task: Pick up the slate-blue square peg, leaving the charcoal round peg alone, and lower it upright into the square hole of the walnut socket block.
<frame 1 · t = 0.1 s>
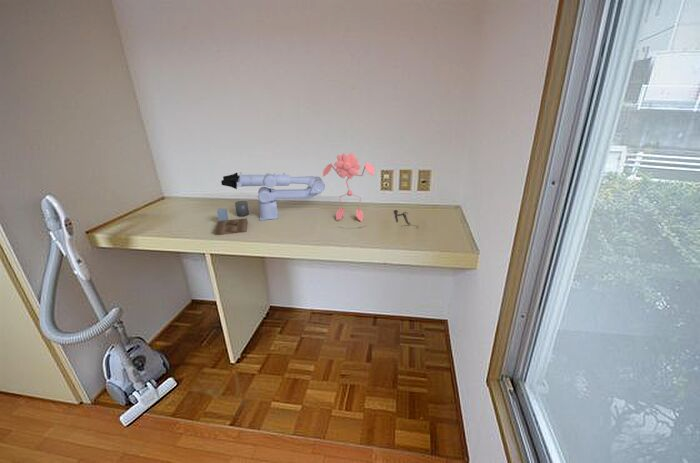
hand: (222, 180, 159), 22 cm above the table, tool horizontal, fingers open, 7 cm apart
figurine: (348, 223, 162), on the table
square peg: (224, 222, 167), on the table
round peg: (243, 214, 176), on the table
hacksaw: (405, 220, 165), on the table
socket block: (232, 228, 159), on the table
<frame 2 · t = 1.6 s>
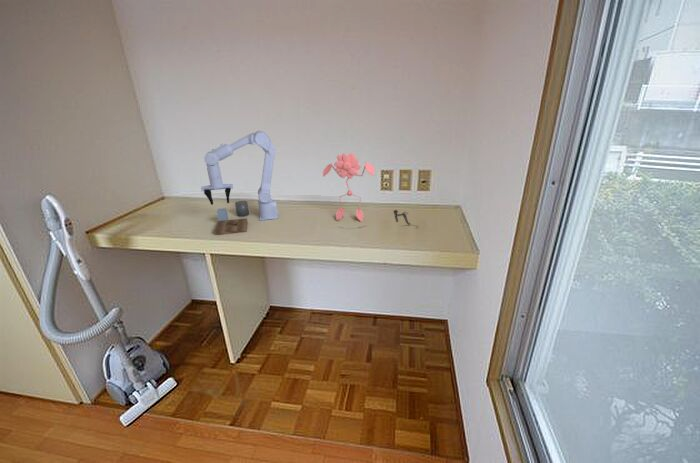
hand: (220, 203, 162), 10 cm above the table, tool pointing down, fingers open, 7 cm apart
nothing on the table moved.
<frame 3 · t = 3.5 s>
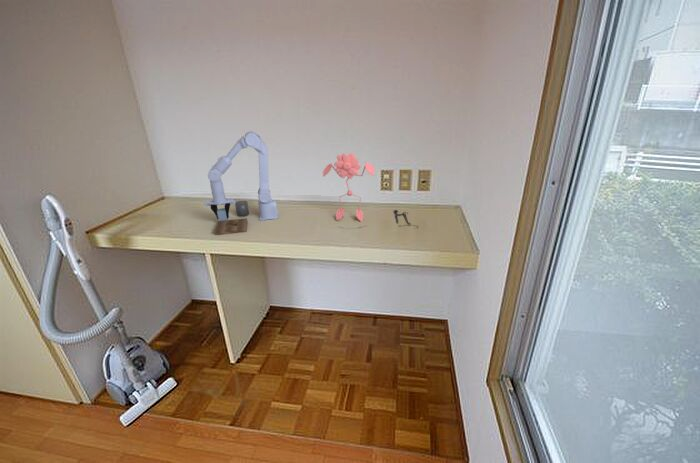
hand: (223, 218, 166), 2 cm above the table, tool pointing down, fingers closed on square peg, 4 cm apart
square peg: (224, 222, 167), on the table, touching gripper
everything else where it was.
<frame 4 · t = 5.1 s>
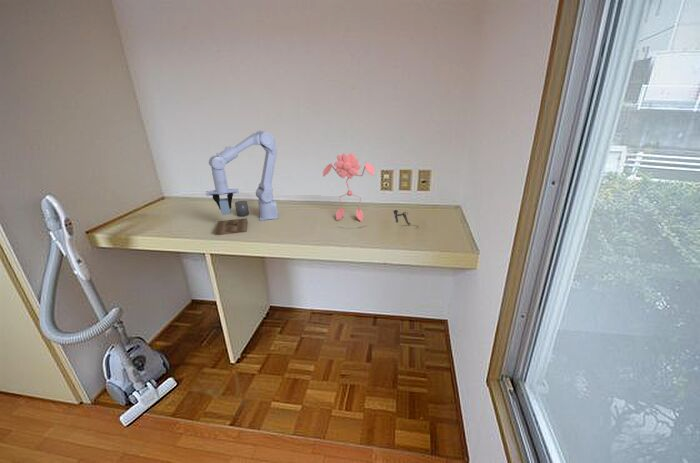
hand: (225, 208, 158), 9 cm above the table, tool pointing down, fingers closed on square peg, 4 cm apart
square peg: (226, 213, 159), point 7 cm above the table, touching gripper
everything else where it was.
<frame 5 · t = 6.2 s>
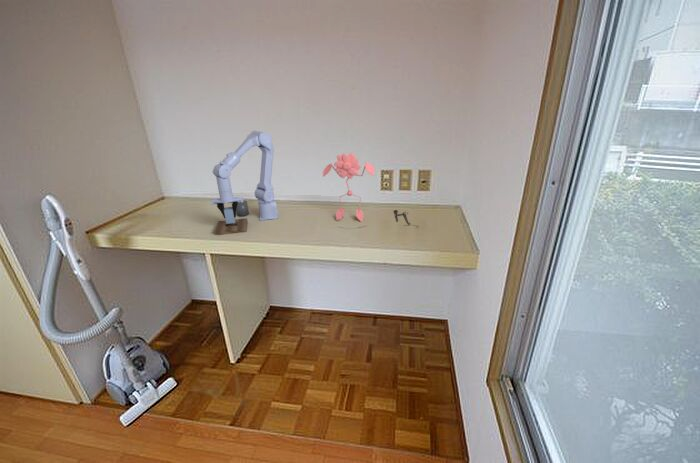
hand: (230, 217, 156), 6 cm above the table, tool pointing down, fingers closed on square peg, 4 cm apart
square peg: (231, 221, 157), point 4 cm above the table, touching gripper
everything else where it was.
when the fingers open (4 cm above the table, at t = 7.1 s): square peg drops 1 cm, resting in socket block.
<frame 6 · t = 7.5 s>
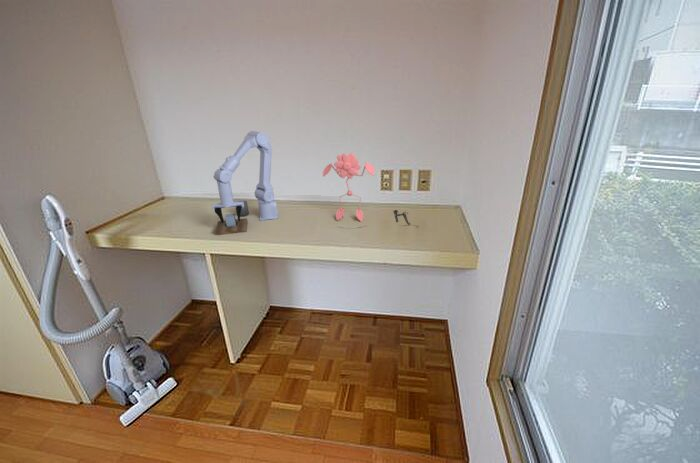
hand: (231, 221, 157), 4 cm above the table, tool pointing down, fingers open, 7 cm apart
square peg: (232, 228, 159), resting in socket block
everything else where it was.
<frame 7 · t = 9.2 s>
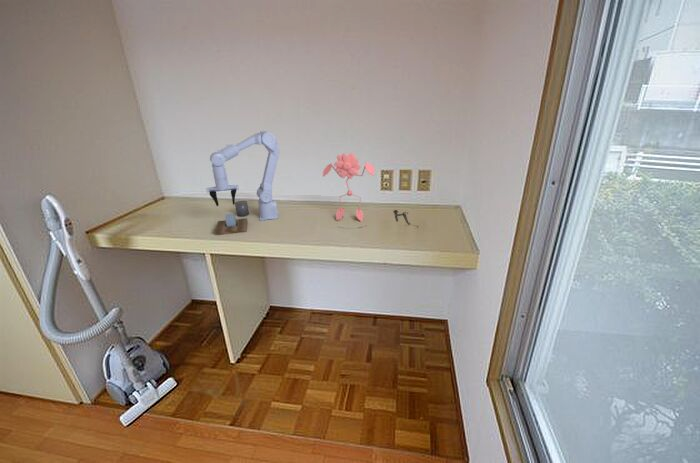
hand: (225, 204, 160), 10 cm above the table, tool pointing down, fingers open, 7 cm apart
nothing on the table moved.
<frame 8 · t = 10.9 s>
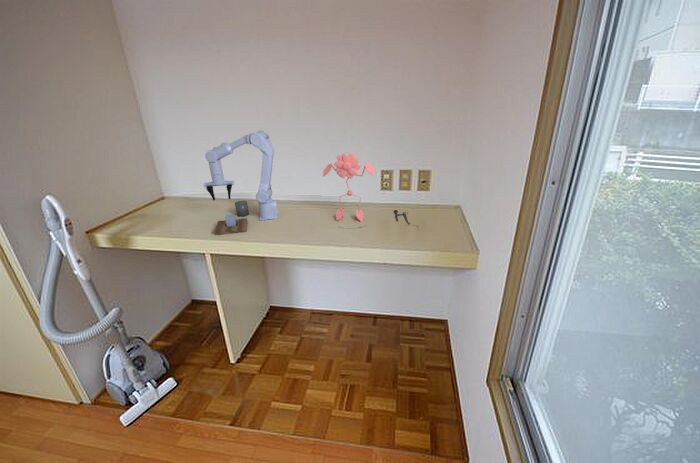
hand: (222, 199, 169), 10 cm above the table, tool pointing down, fingers open, 7 cm apart
nothing on the table moved.
at the end: square peg 0.1 cm off-centre on the socket block, point 0.0 cm above the socket block's base; square peg tilted 0°; round peg moved 0.0 cm from its start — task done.
